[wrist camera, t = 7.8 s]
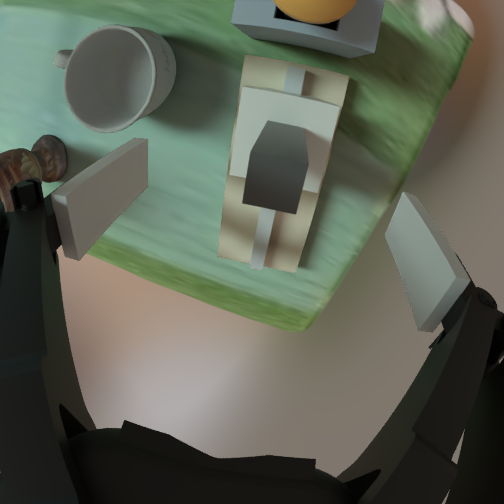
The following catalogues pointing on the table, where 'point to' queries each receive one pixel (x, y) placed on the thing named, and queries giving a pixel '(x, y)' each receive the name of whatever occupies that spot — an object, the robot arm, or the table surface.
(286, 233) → the rail board
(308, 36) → the blue-grey button box
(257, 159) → the carriage
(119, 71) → the teacup
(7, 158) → the mortar and pestle
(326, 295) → the table surface
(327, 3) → the button
